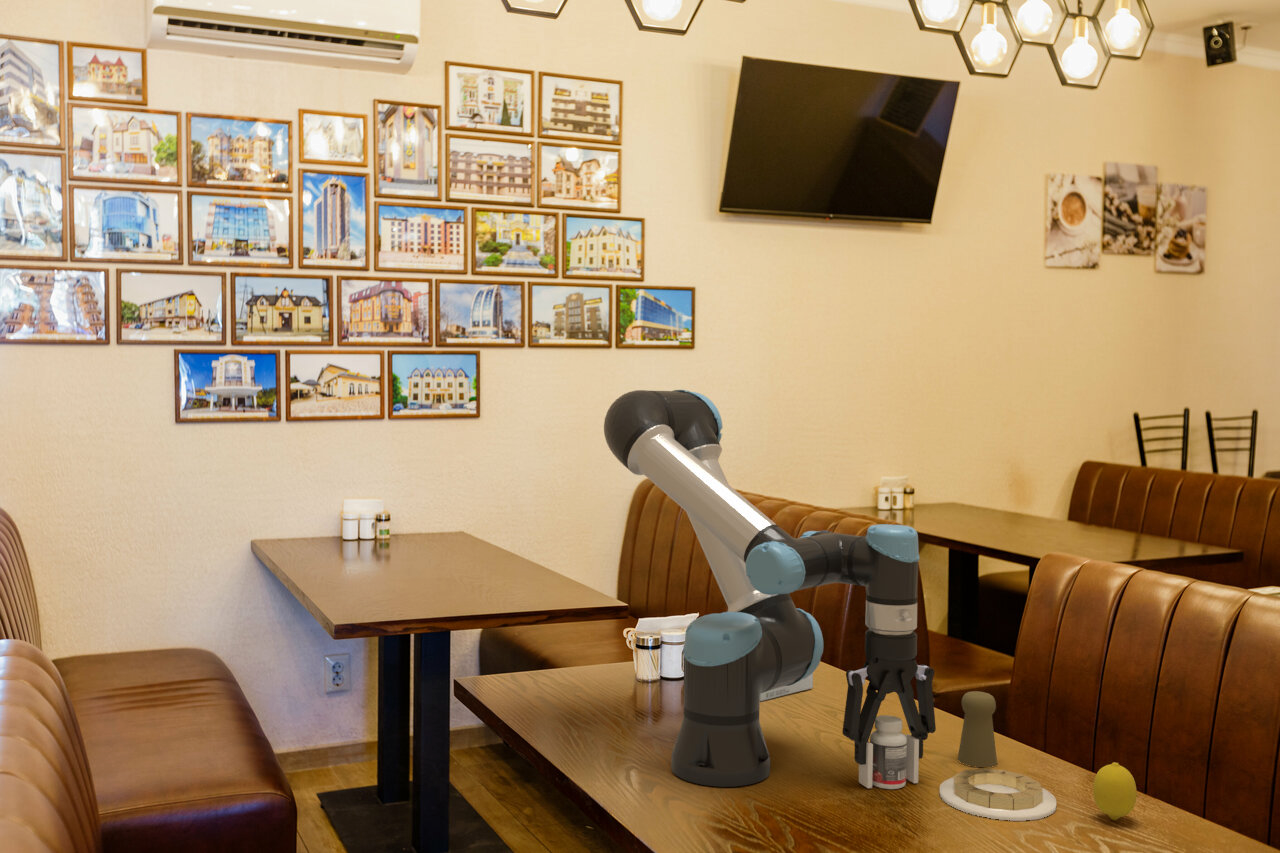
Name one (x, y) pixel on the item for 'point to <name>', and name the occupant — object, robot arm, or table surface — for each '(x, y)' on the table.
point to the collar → (1007, 801)
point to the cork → (978, 730)
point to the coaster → (1013, 815)
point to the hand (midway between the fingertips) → (888, 782)
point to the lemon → (1114, 791)
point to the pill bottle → (889, 753)
